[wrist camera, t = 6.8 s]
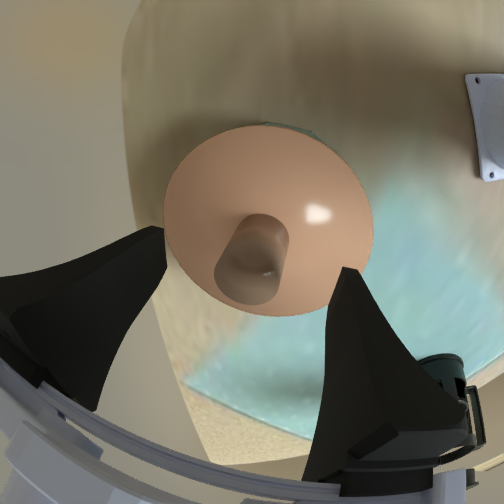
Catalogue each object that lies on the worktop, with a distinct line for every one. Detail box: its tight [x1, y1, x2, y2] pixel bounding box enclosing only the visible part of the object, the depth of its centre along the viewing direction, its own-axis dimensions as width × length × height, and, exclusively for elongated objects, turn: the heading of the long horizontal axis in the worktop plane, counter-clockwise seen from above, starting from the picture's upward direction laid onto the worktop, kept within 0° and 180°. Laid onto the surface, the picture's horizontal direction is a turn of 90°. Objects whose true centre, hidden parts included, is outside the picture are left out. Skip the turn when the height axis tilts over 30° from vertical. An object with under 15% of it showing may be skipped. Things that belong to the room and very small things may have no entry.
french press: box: [418, 354, 486, 490], centre depth 18 cm, size 12×9×23 cm
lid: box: [163, 125, 374, 317], centre depth 15 cm, size 13×13×5 cm
